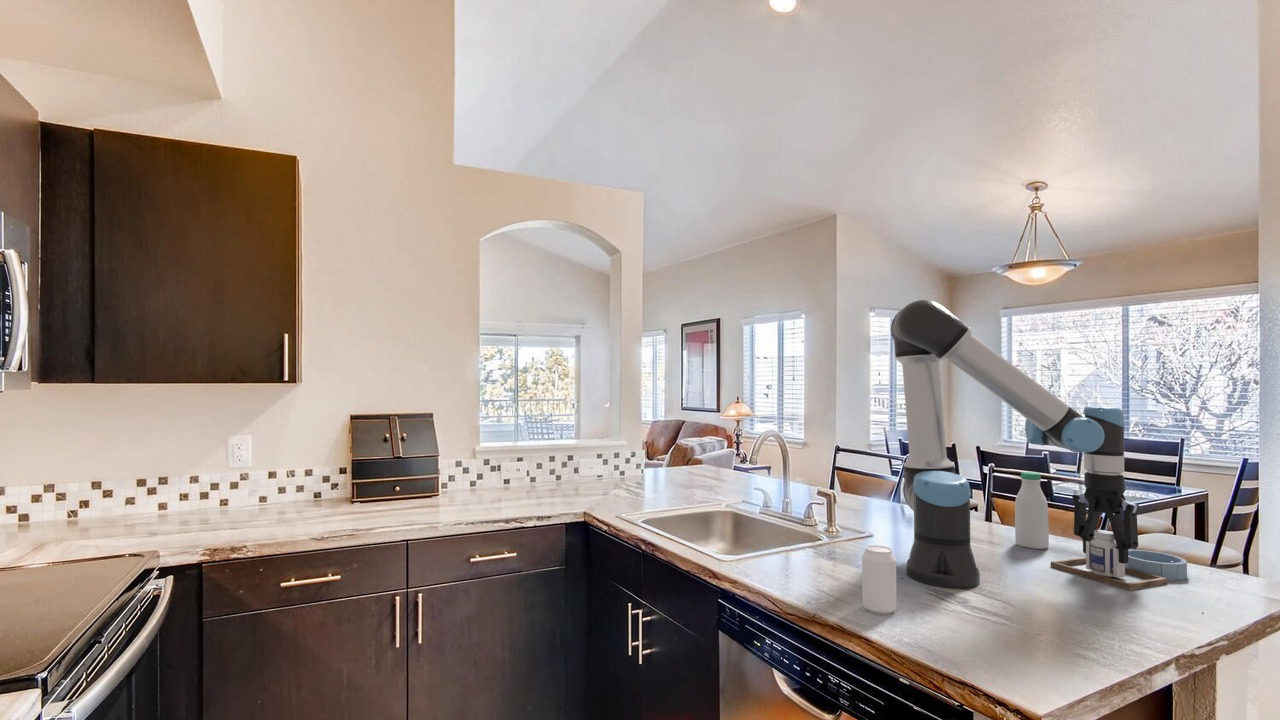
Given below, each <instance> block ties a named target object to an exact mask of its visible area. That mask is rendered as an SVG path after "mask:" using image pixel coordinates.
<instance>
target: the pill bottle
mask: <svg viewBox="0 0 1280 720" xmlns="http://www.w3.org/2000/svg"><path fill="white" fill-rule="evenodd" d="M1094 538H1095V539H1092V541H1091V573H1095V574H1098V575H1102V576H1105V577H1109V578H1112V577H1113V548H1115V547H1117V545H1116V541H1115V538H1114V534H1113V531H1112V530H1103V529H1096V530H1095V531H1094ZM1113 578H1114V577H1113Z"/></svg>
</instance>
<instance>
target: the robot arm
mask: <svg viewBox="0 0 1280 720" xmlns="http://www.w3.org/2000/svg"><path fill="white" fill-rule="evenodd" d="M903 307H904V308H902V309H900V310H899V311H898V312H897V313H896V314H895V315H894V317H893V319H892V321H891V326H890V335H891V338H892V340H893V343H894V354H895V355H894V356H895V360H897V361H898V362H899V363H900V364H901V366H902V377H903V378H902V379H903V389H904V390H903V391H904V402H905V403H904V405H905V415H906V416H905V417H906V427H907V429H906V430H907V431H906V432H907V439H908V441H907V443H908V455H909V456H908V459H907V460H906V461H905V462H904V463H903V474H904V475H903V476H904V483H903V486H902V493H903V498H904V501H905V502H906V504H907V505H908V507H909V509H911V510H912V511H913V543H912V547H911V549H910V553H909V558H908V559H907V561H906V565H905V567H906V569H905V570H906V571H905V572H906V575H907V576H908V577H910V578H911V579H912V580H915V581H918V582H920V583H924V584H928V585H932V586H937V587H943V588H953V589H954V588H955V589H957V588H958V589H960V588H961V589H962V588H963V589H965V588H973V587H977V586H978V585H979V584H981V583H980V582H981V576H980V575H981V573H980V571H979V568H978V567H977V564H976V560H975V557H974V553H973V550H972V546H971V494H972V493H971V489H970V483H969V481H968V479H967V478H966V477H964V476H963V475H960V474H958V473H956V470H955V464H954V463H953V462H952V461H951V460H950V459H949V458H948V456H947V445H946V444H947V442H946V431H945V430H946V429H945V418H944V408H943V407H944V406H943V405H944V404H943V394H942V383H941V382H942V381H941V371H940V370H941V367H940V363H941V360H948V361H949V362H951V363H952V364H954V366H956V367H957V368H958V369H960V370H961V371H963V372H964V373H965V374H966V375H968V376H969V377H971V379H973V380H975V382H977V383H978V384H979V385H982V387H984V388H985V389H987V390H988V391H989V392H990V393H992V394H993V395H994V396H996V397H998V398H999V399H1000V400H1001V401H1003V402H1004V403H1005V404H1007V405H1008V406H1009V407H1010V408H1011V409H1013V410H1015V412H1017V413H1019V414H1020V415H1022V417H1024V418H1025V419H1026V420H1025V424H1024V431H1025V437H1026V439H1027V442H1028V443H1029V444H1031V445H1037V446H1042V447H1044V446H1053V447H1057V448H1061V449H1066V450H1068V451H1071V452H1073V453H1082V454H1083V453H1084V454H1083V469H1084V470H1086V472H1085V473H1084V475H1083V476H1084V480H1083V481H1084V487H1085V491H1084V492H1083V493H1075V494H1072V500H1073V503H1074V507H1073V508H1074V513H1073V514H1074V516H1073V535H1075V536H1076V537H1080V538H1081V539H1082V552H1083V553H1084V554H1085V557H1086V563H1085V569H1086V570H1091V541H1092V540H1093V539H1095V537H1094V531H1095V530H1097V528H1098V525H1099V521H1100V518H1101V515H1102V514H1105V515H1106V517H1107V519H1108V520H1109V525H1110V527H1111V532H1113V534H1114V538H1115V540H1114V541H1115V542H1116V545H1117V547H1115V548H1113V578H1117V579H1119V578H1125V577H1126V573H1125V563H1128V550H1129V549H1135V548H1136V549H1137V548H1139V533H1138V532H1139V531H1138V529H1139V528H1138V512H1139V510H1140V505H1139V504H1138V503H1132V502H1130V501H1128V500H1127V499H1126V497H1125V494H1124V492H1125V486H1126V485H1125V483H1126V482H1125V481H1126V480H1125V476H1124V474H1123V473H1124V472H1125V428H1126V427H1125V420H1124V419H1125V418H1124V413H1123V410H1122V409H1121V408H1120V407H1114V406H1086V407H1084V408H1083V412H1082V413H1081V414H1080V413H1079V412H1077V411H1076V410H1075V409H1073V408H1072V407H1071V406H1069V405H1068V404H1067V403H1065V402H1063V401H1062V400H1061V399H1060V398H1059V397H1058V396H1056V395H1054V394H1053V393H1051V392H1050V391H1049V390H1048V389H1046V388H1045V387H1043V386H1042V385H1041V384H1039V383H1038V382H1037V381H1035V380H1034V379H1033V378H1031V377H1030V376H1029V375H1028V374H1026V373H1024V372H1023V371H1022V370H1020V369H1019V368H1018V367H1016V366H1015V365H1014V364H1012V363H1011V362H1010V361H1008V360H1007V359H1006V358H1004V357H1003V356H1001V355H1000V354H999V353H998V352H996V351H995V350H993V349H992V348H991V347H989V346H988V345H987V344H986V343H984V342H983V341H981V340H980V339H978V338H977V337H976V336H974V335H973V334H972V332H971V331H972V329H971V327H970V326H969V325H968V324H967V323H965V322H964V321H963V320H961V319H960V318H959V317H957V316H956V315H954V314H953V313H952V312H951V310H948V309H947V308H946V307H945V306H943V304H940V303H938V302H936V301H933V300H929V299H919V300H918V299H917V300H916V301H912V302H910V303H908V304H907V305H906V306H903ZM1087 502H1088V504H1089V505H1088V508H1087ZM1121 508H1122V509H1121ZM1122 511H1124V512H1123V513H1122ZM1123 521H1124V522H1123Z"/></svg>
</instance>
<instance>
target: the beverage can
mask: <svg viewBox="0 0 1280 720" xmlns="http://www.w3.org/2000/svg"><path fill="white" fill-rule="evenodd" d="M861 558H862V559H861V564H862V565H861V568H862V569H861V572H862V573H861V578H862V580H861V582H862V583H861V584H862V587H861V589H862V590H861V591H862V593H861V594H862V597H861V598H862V605H863V606H862V607H864V608H865V609H866V610H868V612H870V613H872V614H876V615H883V616H884V615H889V614H892V612H895V611H896V610H897V559H896V557H895V555H894V553H893V549H892V548H891V547H888V546H883V545H873V544H872V545H866V546H865V550H864V552H863V554H862V556H861Z"/></svg>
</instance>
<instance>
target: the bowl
mask: <svg viewBox="0 0 1280 720" xmlns="http://www.w3.org/2000/svg"><path fill="white" fill-rule="evenodd" d="M1171 561H1173V562H1171ZM1125 567H1126V568H1130V569H1134V570H1137V571H1141V572H1145V573H1149V574H1152V575H1156V576H1160V577H1164V578H1167V581H1183V580H1188V562H1187V559H1186V558H1183V557H1180V556H1178V555H1174V554H1169V553H1166V552H1161V551H1153V550H1146V549H1133V548H1130V549H1129V550H1128V563H1125Z"/></svg>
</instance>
